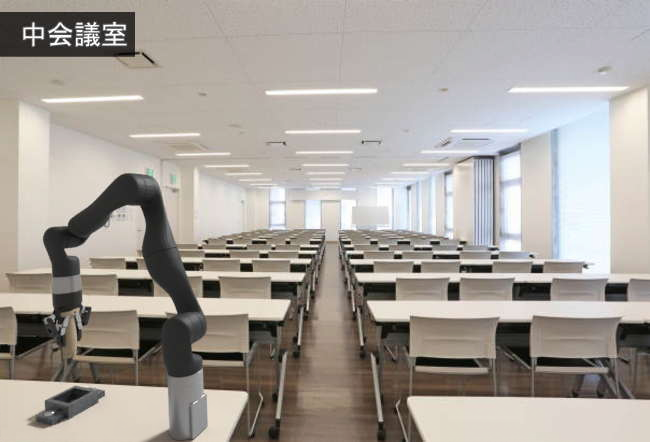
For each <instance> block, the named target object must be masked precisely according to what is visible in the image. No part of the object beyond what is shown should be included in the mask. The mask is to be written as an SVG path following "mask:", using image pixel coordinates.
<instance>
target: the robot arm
mask: <svg viewBox="0 0 650 442" xmlns="http://www.w3.org/2000/svg"><path fill="white" fill-rule="evenodd" d="M126 206H131V207H132V206H133V207H134V206H135V207H136V206H137V207H140V209H141V211H142V214H143V217H144V221H145V222H144V223H145V232H144V235H143V239H142V244H141V254H142V258H143V261H144V264H145V268H146V270H147V272H148V274H149V276H150V278H151V279H152V280H153V281H154V282H155V283H156V284H157V285H158V287H160V288H161V289H162V290H163V291H165V292H166V294H167V295H168V296H169V297H170V299H171V300H172V302H173V305H174V308H175V311H176V314H175V315H173V316H171V317H168V318H167V319H166V320H165V321H164V323H163V324H162V327H161V347H162V355H163V356H162V357H163V363H164V364H165V367H166V371H167V374H166V375H167V395H168V396H167V398H168V399H167V401H168V402H167V403H168V421H169V422H168V424H169V437H170V438H171V439H173V440H175V441H185V440H194V439H195V438H196V437H198V436H199V435H200V433H202V432H203V431H204V430H205V429H206V428H207V427H208V426H209V425H208V424H209V423H208V422H209V421H208V396H207V393H205V392H204V364H203V363H204V362H203V357H202V356H201V355H199V354H197V353H193V349H192V345H193V344H195V343H196V342H198V341H200V340H202V339H203V337H205V336H206V334H207V330H208V322H207V320H206V319H207V318H206V316H205V314H204V311H203V310H202V309H203V308H202V307H201V305H200V303H199V300H198V299H197V297H196V294H195V292H194V290H193V287H192V285H191V281H190V280H189V277H188V274H187V271H186V269H185V267H184V263H183V260H182V257H181V253H180V250H179V248H178V245H177V243H176V240H175V238H174V235H173V231H172V228H171V226H170V222H169V218H168V215H167V211H166V207H165V203H164V197H163V194H162V190H161V186H160V184H159V183H158V181H157V180H156V178H155V177H153V176H151V175H148V174H143V173H135V172H124V173H122V174H119V175H118V176H117V177H116V178H115V179H114V180H113V181H112V182H111V183H110V184H109V185H107V187H106V188H105V189H104V191H103V192H101V194H100V195H99V196H98V197H96V198H95V200H94V201H93V202H92V203H91V204H89V205H88V206H87V207H85V208H84V209H82V210H80V211H78V213H77V214H75V215H74V216H73V217H71V218H70V219H69V220H68V223H67V225H62V226H61V225H60V226H51V227H48V228H47V229H46V230H45V231H44V233H43V236H42V242H43V245H44V249H45V250H46V253H47V255H48V258H49V260H50V263H51V274H52V275H51V276H52V278H51V298H52V299H51V300H52V307H53V311H52V313H51V314H50V315H49V316H47V317H46V316H44V317H42V320H41V321H42V322H43V325H44V327H45V329H46V331H47V333H48V335H50V336H55V337H56V346H58V347H60V348H62V347H64V346H66V342H65V335H64V334H65V329H66V327H67V325H68V321H69V318H70V316H66V317H61V313H62V312H65V311H69V310H72V309H76V308H79V309H80V311H78V313H77V314H76V315H75V324H76V332H77V343H78V342H80V341H81V339H82V337H83V336H82V333H83V332H82V329H83V327H85V326H87V325H88V324H89V320H90V316H91V312H92V306H88V305H86V306H85V305H83V285H82V284H83V283H82V277H81V265H80V264H81V262H80V258H79V257H78V256H76V255H68V253H67V252H66V250H65V249H72V248H78V247H79V246H80V247H81V246H82V245H84V244H85V243H86V242H87V240H88V239H89V238H90V237H91V235H92V234H94V233H95V232H97V231H98V230H100V229H101V228H103V227H104V226H105V225H106V224H107V223H108V221H109V219H110V218H111V214H112V213H113V212H115V211H116V210H120V209H121V208H123V207H126ZM55 319H56V321H55ZM62 323H63V324H62Z"/></svg>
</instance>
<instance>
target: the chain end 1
mask: <svg viewBox="0 0 650 442" xmlns="http://www.w3.org/2000/svg"><path fill="white" fill-rule="evenodd" d="M73 401H75V393H74V388H73V386H72V387H69V388H67V389H65V390H63V391H61V392H59V393H57V394H55V395H53V396H51V397H48V398H47V399H45V400H44V410H43V411H41V412H39V413H38V414H37V413H36V415H35V422H37V423H42V424H45V425H49V426H53V425H56V424H57V423H59V422H61V421H63V420H64V419H66V420H70V419H72V418H74V417H73V407H72V404H70V403H71V402H73Z"/></svg>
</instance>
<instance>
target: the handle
mask: <svg viewBox="0 0 650 442" xmlns="http://www.w3.org/2000/svg"><path fill="white" fill-rule="evenodd" d="M78 311H80V309H79V308H76V309H72V310H69V311H65V312H62V313H61V317H66V316H70V318H69V321H68V325H67V327H66V329H65V334H64V335H65V342H66V346H64V347H61V349H62V353H63V358H64V359H70V358H71V359H72V358H74V357H76V355H77V348H78V342H77V332H76V324H75V315H76V314H77V313H78ZM61 324H63V323H61Z"/></svg>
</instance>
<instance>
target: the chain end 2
mask: <svg viewBox="0 0 650 442" xmlns="http://www.w3.org/2000/svg"><path fill="white" fill-rule="evenodd" d="M72 387H73V388H74V393H75V400H73V401H71V402H70V404H72V407H73V417H72V418H74V417H75V416H77V415H79V414H81V413H82V412H84V411H86V410H88V409H90V408H91V407H93V406H95V405H96V404H99V402H100V401H99V400H100V399H102V398H103V397H105V396H106V391H105V390H104V389H99V388H96V387H91V386H89V387H83V386H79V385H73V386H72Z"/></svg>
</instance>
